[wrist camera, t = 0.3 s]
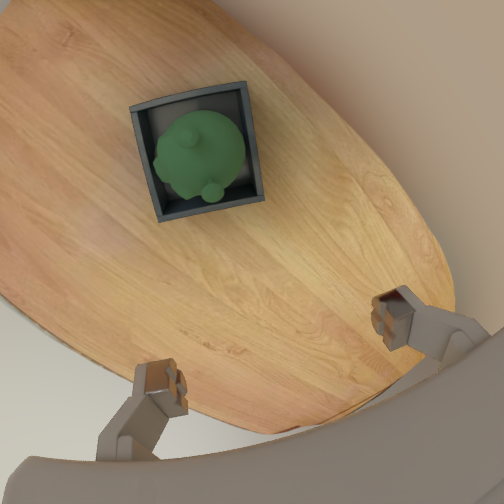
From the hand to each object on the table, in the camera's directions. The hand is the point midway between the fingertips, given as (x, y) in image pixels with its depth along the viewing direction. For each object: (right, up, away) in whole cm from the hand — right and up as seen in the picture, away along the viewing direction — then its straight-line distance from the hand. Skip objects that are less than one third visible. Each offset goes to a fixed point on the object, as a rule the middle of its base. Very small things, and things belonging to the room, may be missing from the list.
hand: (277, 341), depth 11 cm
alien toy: (-6, +13, +16) cm, 22 cm away
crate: (-6, +14, +16) cm, 22 cm away
